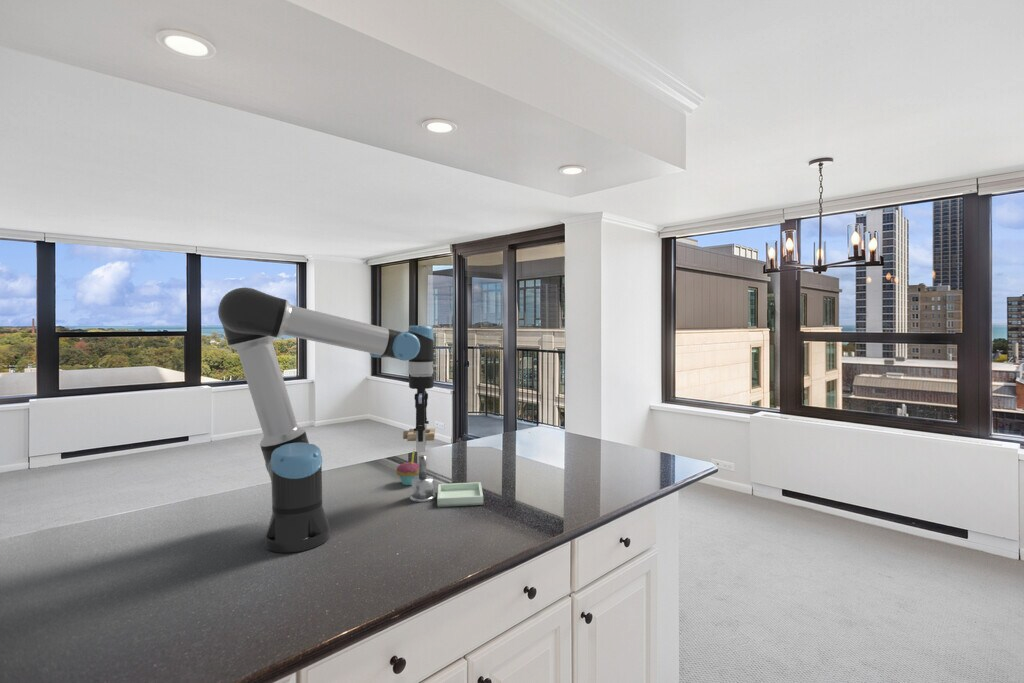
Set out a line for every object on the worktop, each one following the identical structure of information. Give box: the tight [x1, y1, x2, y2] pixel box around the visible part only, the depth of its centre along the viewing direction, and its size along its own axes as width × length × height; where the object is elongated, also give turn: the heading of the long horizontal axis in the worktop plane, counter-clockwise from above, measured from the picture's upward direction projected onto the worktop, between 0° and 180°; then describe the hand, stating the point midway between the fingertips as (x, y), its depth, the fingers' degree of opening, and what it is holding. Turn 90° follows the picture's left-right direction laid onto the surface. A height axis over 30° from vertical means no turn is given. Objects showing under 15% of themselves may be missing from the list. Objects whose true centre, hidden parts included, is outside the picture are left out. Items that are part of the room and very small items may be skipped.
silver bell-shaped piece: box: [409, 454, 437, 503], centre depth 157 cm, size 8×8×13 cm
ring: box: [402, 428, 436, 442], centre depth 157 cm, size 8×10×2 cm
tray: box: [436, 481, 484, 508], centre depth 157 cm, size 14×14×2 cm
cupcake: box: [395, 448, 419, 486], centre depth 172 cm, size 9×8×12 cm
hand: (421, 448), depth 157 cm, fingers closed on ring, 8 cm apart
